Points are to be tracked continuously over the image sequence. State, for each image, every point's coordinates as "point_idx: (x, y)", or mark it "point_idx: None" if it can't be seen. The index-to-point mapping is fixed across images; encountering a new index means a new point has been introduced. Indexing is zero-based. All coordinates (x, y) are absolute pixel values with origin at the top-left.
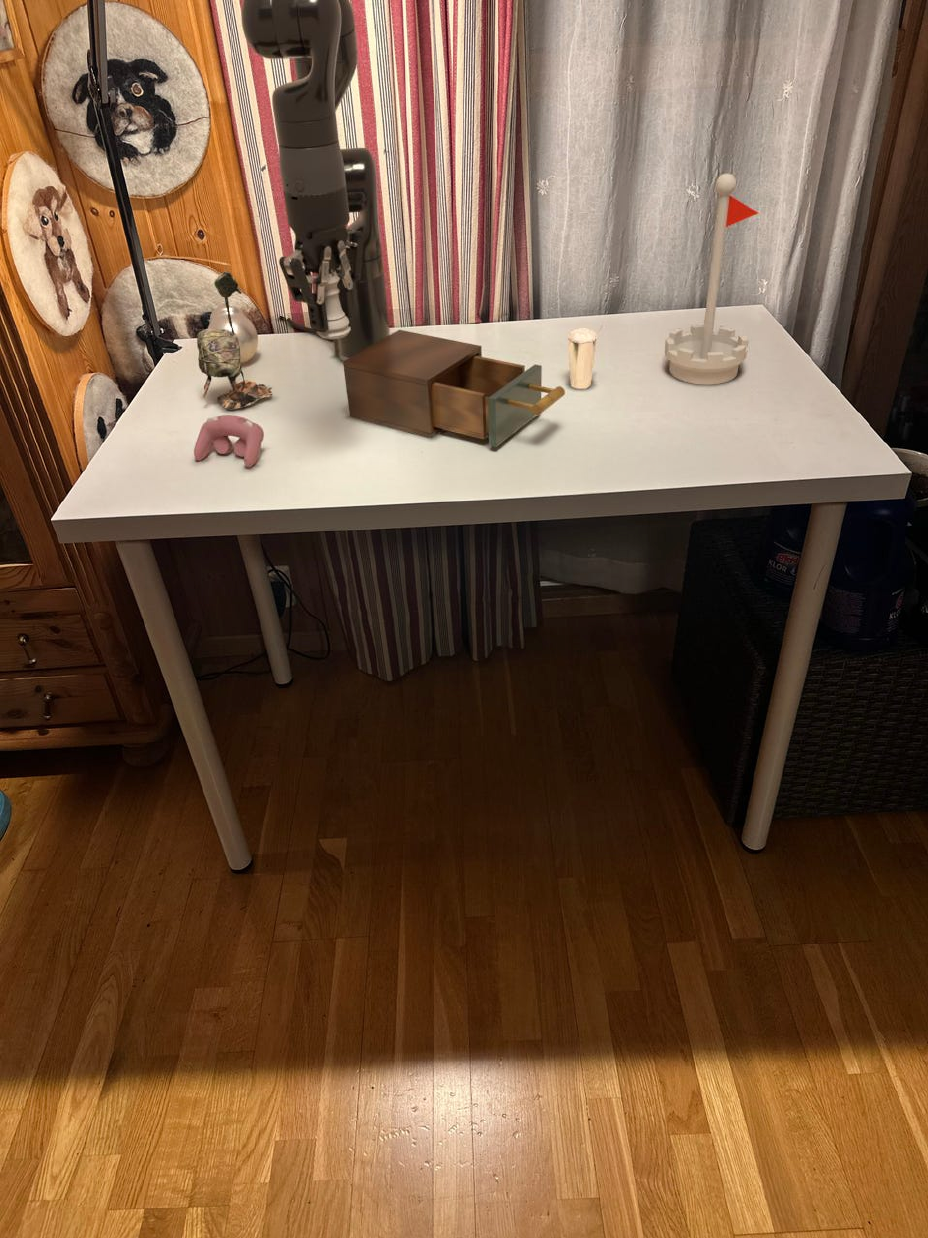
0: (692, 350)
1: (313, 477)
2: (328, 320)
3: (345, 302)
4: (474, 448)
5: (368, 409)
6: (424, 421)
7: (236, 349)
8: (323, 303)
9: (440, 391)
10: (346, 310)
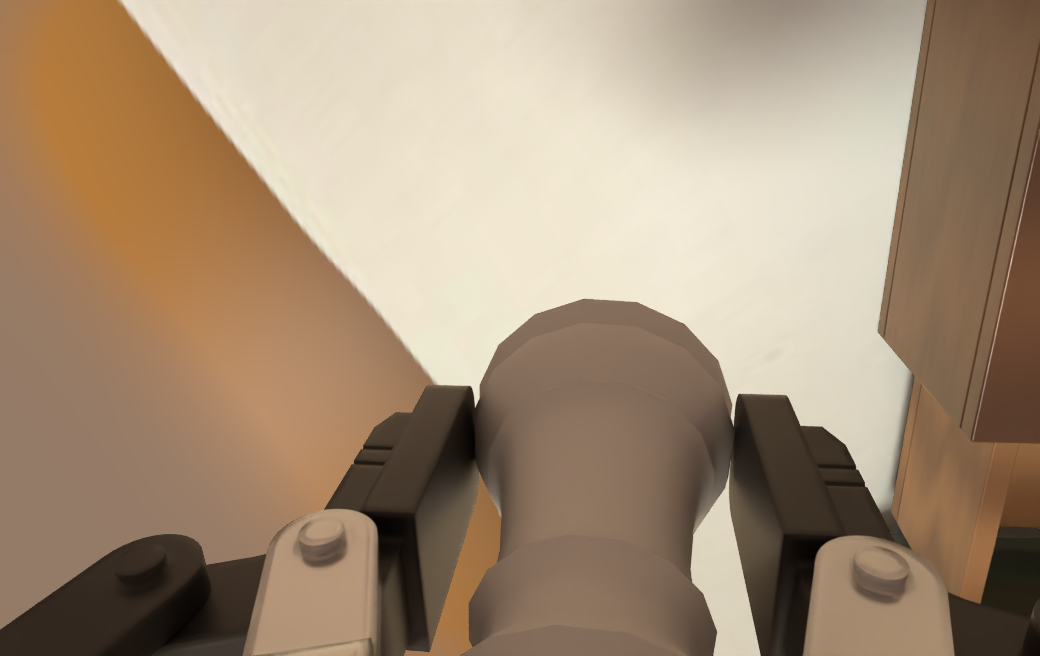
0: None
1: (460, 151)
2: (499, 512)
3: (752, 574)
4: (863, 476)
5: (942, 46)
6: (901, 331)
7: None
8: (410, 644)
9: (978, 446)
10: (738, 529)
